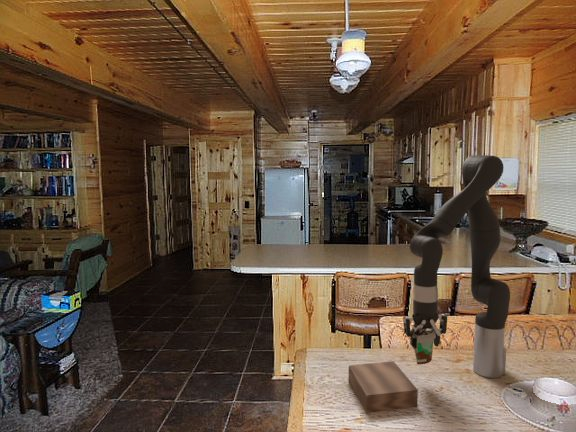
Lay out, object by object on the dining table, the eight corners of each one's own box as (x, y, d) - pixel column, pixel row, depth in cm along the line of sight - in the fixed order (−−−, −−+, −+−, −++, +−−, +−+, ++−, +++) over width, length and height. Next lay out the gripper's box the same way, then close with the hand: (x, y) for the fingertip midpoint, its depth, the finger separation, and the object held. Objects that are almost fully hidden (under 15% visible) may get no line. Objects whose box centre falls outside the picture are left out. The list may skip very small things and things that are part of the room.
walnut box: (393, 377, 143) (393, 361, 142) (417, 408, 126) (417, 389, 125) (348, 382, 141) (348, 365, 140) (366, 414, 123) (366, 395, 122)
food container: (438, 367, 129) (438, 337, 127) (417, 366, 130) (417, 336, 129) (432, 349, 141) (433, 321, 139) (413, 348, 142) (414, 320, 141)
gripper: (441, 292, 137) (440, 339, 139) (399, 295, 135) (399, 343, 138) (452, 299, 129) (451, 349, 132) (408, 303, 128) (408, 353, 130)
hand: (425, 346), depth 135 cm, fingers closed on food container, 7 cm apart
